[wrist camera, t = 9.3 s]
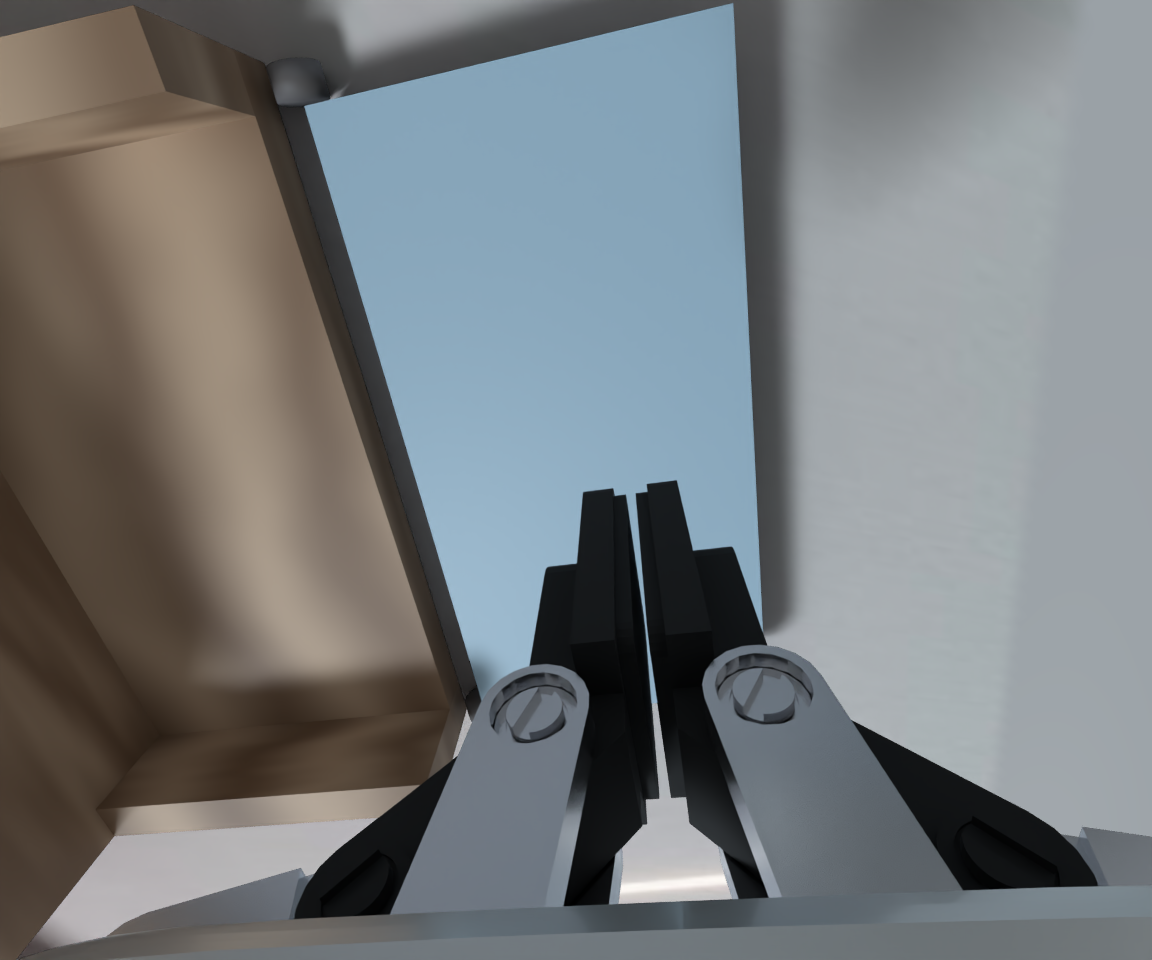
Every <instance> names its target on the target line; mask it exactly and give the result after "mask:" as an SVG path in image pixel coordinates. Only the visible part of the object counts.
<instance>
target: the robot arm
mask: <svg viewBox="0 0 1152 960" xmlns="http://www.w3.org/2000/svg"><path fill="white" fill-rule="evenodd" d="M635 494H636V506H637V517H638V529H639V541H640V552H641V564H642V575H643V587H644V598H645V610H646V622H647V631H648V640H649V648H650V656H651V663H652V670H653V676H654V683H655V690H656V697H657V704H658V711H659V718H660V725H661V731H662V738H663V745H664V752H665V759H666V766H667V773H668V780H669V786H670V793H671V798H677V797H686V799H687V807H688V814H689V822H690V824H691V825H693V826H694V827H695V828H696V829H698V830H699V831H700V832H701V833H703V834H704V835H705V836H706V837H708V838H709V839H710V840H711V841H713V842H714V843H715V844H716V845H718V849H719V855H720V861H721V865H722V868H723V871H724V874H725V878H726V881H727V884H728V887H729V890H730V893H731V897H732V899H729V900H704V901H680V902H656V903H633V904H618V903H619V895H620V887H621V879H622V871H623V852H622V847H623V846H624V845H625V844H626V843H627V842H628V841H629V840H630V839H631V837H632V836H633V835H634V834H635V833H636V832H637V831H638V830H639V829H640V828H641V827H642V825H644V824H647V814H646V799H659V786H658V774H657V762H656V750H655V738H654V725H653V713H652V701H651V689H650V677H649V665H648V653H647V641H646V630H645V621H644V613H643V606H642V599H641V593H640V586H639V579H638V572H637V565H636V558H635V551H634V545H633V538H632V531H631V524H630V517H629V510H628V504H627V497H626V495H617V496H615V494H614V489H613V488H610V489H602V490H594V491H586V492H583V497H582V509H581V520H580V532H579V544H578V556H577V563H576V564H567V565H558V566H549V567H547V568H546V570H545V574H544V580H543V586H542V592H541V598H540V604H539V610H538V616H537V622H536V628H535V634H534V640H533V646H532V652H531V658H530V664H529V666H528V667H525V668H522V669H519V670H516V671H514V672H512V673H510V674H508V675H507V676H505V677H503V678H502V679H500V680H499V681H498V682H497V683H496V684H495V685H494V686H493V687H491V688H490V689H489V690H488V692H487V693H486V695H485V697H484V698H483V700H482V701H481V703H480V705H479V708H478V710H477V712H476V715H475V717H474V719H473V722H472V724H471V726H470V729H469V731H468V733H467V736H466V738H465V740H464V743H463V745H462V747H461V750H460V752H459V754H458V756H457V757H455V758H454V759H453V760H452V761H450V762H449V763H448V764H447V765H445V766H444V767H443V768H441V769H440V770H439V771H438V772H436V773H435V774H434V775H432V776H431V777H430V778H429V779H427V780H426V781H425V782H424V783H422V784H421V785H420V786H418V787H417V788H416V789H415V790H413V791H412V792H411V793H409V794H408V795H407V796H406V797H404V798H403V799H402V800H401V801H399V802H398V803H397V804H395V805H394V806H393V807H392V808H390V809H389V810H388V811H386V812H385V813H384V814H383V815H381V816H380V817H379V818H378V819H376V820H375V821H374V822H372V823H371V824H370V825H369V826H367V827H366V828H365V829H363V830H362V831H361V832H360V833H358V834H357V835H356V836H355V837H353V838H352V839H351V840H349V841H348V842H347V843H346V844H344V845H343V846H342V847H340V848H339V849H338V850H337V851H336V852H335V853H334V854H333V855H331V856H330V857H329V858H328V859H327V860H326V861H325V862H324V863H323V864H322V865H321V866H320V867H319V868H318V870H317V871H316V873H315V874H313V875H309V876H305V874H304V872H303V871H302V869H301V868H299V869H296V870H292V871H289V872H285V873H282V874H278V875H275V876H272V877H268V878H265V879H261V880H258V881H254V882H251V883H247V884H244V885H241V886H237V887H234V888H230V889H227V890H223V891H220V892H217V893H213V894H210V895H206V896H203V897H199V898H196V899H193V900H189V901H186V902H182V903H179V904H175V905H172V906H169V907H165V908H162V909H158V910H155V911H151V912H148V913H146V914H143V915H141V916H139V917H137V918H135V919H132V920H130V921H128V922H126V923H124V924H123V925H121V926H120V927H119V928H117V929H116V930H114V931H113V932H112V933H110V934H109V935H108V936H106V937H102V938H98V939H93V940H89V941H84V942H79V943H75V944H70V945H66V946H61V947H57V948H53V949H49V950H46V951H43V952H40V953H37V954H34V955H30V956H27V957H24V958H21V959H18V960H1152V837H1150V836H1143V835H1136V834H1129V833H1122V832H1115V831H1108V830H1101V829H1094V828H1087V827H1082V829H1081V832H1080V835H1079V837H1075V836H1068V835H1061V834H1060V833H1059V832H1058V831H1056V830H1055V829H1054V828H1053V827H1051V826H1050V825H1048V824H1047V823H1045V822H1044V821H1042V820H1040V819H1039V818H1037V817H1036V816H1034V815H1033V814H1031V813H1029V812H1028V811H1026V810H1024V809H1022V808H1020V807H1018V806H1016V805H1014V804H1012V803H1011V802H1009V801H1007V800H1005V799H1003V798H1001V797H999V796H997V795H995V794H993V793H991V792H989V791H987V790H985V789H984V788H982V787H980V786H978V785H976V784H974V783H972V782H970V781H968V780H966V779H964V778H962V777H960V776H958V775H956V774H955V773H953V772H951V771H949V770H947V769H945V768H943V767H941V766H939V765H937V764H935V763H933V762H931V761H929V760H927V759H926V758H924V757H922V756H920V755H918V754H916V753H914V752H912V751H910V750H908V749H906V748H904V747H902V746H900V745H899V744H897V743H895V742H893V741H891V740H889V739H887V738H885V737H883V736H881V735H879V734H877V733H875V732H873V731H871V730H870V729H868V728H866V727H864V726H862V725H860V724H858V723H856V722H854V721H852V720H851V719H850V718H849V716H848V715H847V713H846V712H845V710H844V709H843V707H842V706H841V704H840V703H839V701H838V699H837V698H836V696H835V695H834V693H833V692H832V690H831V689H830V687H829V686H828V684H827V683H826V681H825V680H824V678H823V677H822V675H821V674H820V673H819V672H818V671H817V670H816V668H815V667H814V666H813V665H812V664H811V663H810V662H809V661H807V660H805V659H804V658H802V657H801V656H799V655H797V654H796V653H794V652H791V651H788V650H785V649H782V648H779V647H774V646H767V643H766V640H765V637H764V635H763V632H762V629H761V626H760V623H759V620H758V617H757V614H756V611H755V608H754V606H753V603H752V600H751V597H750V594H749V591H748V588H747V585H746V582H745V579H744V577H743V574H742V571H741V568H740V565H739V562H738V559H737V556H736V553H735V551H734V549H733V547H732V546H730V547H721V548H712V549H703V550H694V551H693V548H692V543H691V539H690V535H689V530H688V526H687V522H686V517H685V513H684V509H683V504H682V500H681V496H680V491H679V487H678V483H677V480H674V481H666V482H658V483H650V484H647V492H642V493H635Z"/></svg>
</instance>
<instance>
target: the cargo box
mask: <svg viewBox="0 0 1152 960" xmlns="http://www.w3.org/2000/svg"><path fill="white" fill-rule="evenodd" d="M266 69H267V70H266ZM267 73H268V74H267ZM268 76H269V77H268ZM269 79H270V80H269ZM270 82H271V83H270ZM271 85H272V86H271ZM272 88H273V90H272ZM273 92H274V93H273ZM274 95H275V96H274ZM275 98H276V99H275ZM329 99H330V94H329V91H328V87H327V84H326V80H325V77H324V73H323V69H322V66H321V63H320V62H319V61H318V60H315V59H310V58H289V59H283V60H278V61H275V62H272V63H270V64H269V65H267V67H265V64H264V63H263V62H261V61H258V60H256V59H254V58H252V57H249V56H247V55H245V54H243V53H240V52H238V51H236V50H234V49H231V48H229V47H227V46H225V45H222V44H220V43H218V42H216V41H213V40H211V39H209V38H207V37H204V36H202V35H200V34H198V33H195V32H193V31H191V30H189V29H186V28H184V27H182V26H179V25H177V24H175V23H173V22H170V21H168V20H166V19H164V18H161V17H159V16H157V15H155V14H152V13H150V12H148V11H146V10H143V9H141V8H139V7H137V6H134V5H132V6H128V7H124V8H119V9H115V10H111V11H107V12H103V13H99V14H94V15H90V16H86V17H82V18H78V19H74V20H70V21H65V22H61V23H57V24H53V25H49V26H45V27H40V28H36V29H32V30H28V31H24V32H20V33H16V34H11V35H7V36H3V37H0V960H16V959H17V958H18V957H19V955H20V954H21V953H22V952H23V950H24V949H25V948H26V947H27V945H28V944H29V943H30V942H31V940H32V939H33V938H34V936H35V935H36V934H37V933H38V931H39V930H40V929H41V928H42V926H43V925H44V924H45V923H46V921H47V920H48V919H49V918H50V916H51V915H52V914H53V913H54V911H55V910H56V909H57V908H58V906H59V905H60V904H61V903H62V901H63V900H64V899H65V897H66V896H67V895H68V894H69V892H70V891H71V890H72V889H73V887H74V886H75V885H76V884H77V882H78V881H79V880H80V879H81V877H82V876H83V875H84V874H85V872H86V871H87V870H88V869H89V867H90V866H91V865H92V864H93V862H94V861H95V860H96V858H97V857H98V856H99V855H100V853H101V852H102V851H103V850H104V848H105V847H106V846H107V845H108V843H109V842H110V841H111V840H112V838H113V837H114V836H124V835H139V834H153V833H167V832H181V831H196V830H210V829H224V828H239V827H253V826H267V825H281V824H296V823H310V822H324V821H339V820H353V819H367V818H379V817H380V816H381V815H383V814H384V813H385V812H386V811H388V810H389V809H390V808H392V807H393V806H394V805H395V804H397V803H398V802H399V801H401V800H402V799H403V798H404V797H406V796H407V795H408V794H409V793H411V792H412V791H413V790H415V789H416V788H417V787H418V786H420V785H421V784H422V783H424V782H425V781H426V780H427V779H429V778H430V777H431V776H432V775H434V774H435V773H436V772H438V771H439V770H440V769H441V768H443V767H444V766H445V765H447V764H448V763H449V762H450V761H452V759H453V755H454V752H455V748H456V745H457V741H458V738H459V734H460V731H461V727H462V724H463V720H464V717H465V713H466V710H467V711H468V714H469V717H470V720H471V721H472V722H473V719H474V717H475V715H476V712H477V710H478V708H479V705H480V703H481V701H482V700H481V697H480V694H479V690H478V688H475V689H474V690H472V691H471V692H470V693H469V694H468V695H467V697H466V700H465V702H464V698H463V695H462V692H461V689H460V686H459V683H458V679H457V676H456V673H455V670H454V667H453V663H452V660H451V657H450V654H449V651H448V647H447V644H446V641H445V638H444V635H443V632H442V628H441V625H440V622H439V619H438V616H437V612H436V609H435V606H434V603H433V600H432V596H431V593H430V590H429V587H428V584H427V581H426V577H425V574H424V571H423V568H422V565H421V561H420V558H419V555H418V552H417V549H416V545H415V542H414V539H413V536H412V533H411V530H410V526H409V523H408V520H407V517H406V514H405V510H404V507H403V504H402V501H401V498H400V494H399V491H398V488H397V485H396V482H395V478H394V475H393V472H392V469H391V466H390V463H389V459H388V456H387V453H386V450H385V447H384V443H383V440H382V437H381V434H380V431H379V427H378V424H377V421H376V418H375V415H374V412H373V408H372V405H371V402H370V399H369V396H368V392H367V389H366V386H365V383H364V380H363V376H362V373H361V370H360V367H359V364H358V361H357V357H356V354H355V351H354V348H353V345H352V341H351V338H350V335H349V332H348V329H347V325H346V322H345V319H344V316H343V313H342V310H341V306H340V303H339V300H338V297H337V294H336V290H335V287H334V284H333V281H332V278H331V274H330V271H329V268H328V265H327V262H326V259H325V255H324V252H323V249H322V246H321V243H320V239H319V236H318V233H317V230H316V227H315V223H314V220H313V217H312V214H311V211H310V208H309V204H308V201H307V198H306V195H305V192H304V188H303V185H302V182H301V179H300V176H299V172H298V169H297V166H296V163H295V160H294V157H293V153H292V150H291V147H290V144H289V141H288V137H287V134H286V131H285V128H284V125H283V121H282V118H281V115H280V112H279V109H278V105H280V106H284V107H304V106H307V105H311V104H315V103H319V102H324V101H328V100H329ZM276 101H277V102H276ZM277 104H278V105H277ZM465 704H466V705H465ZM466 707H467V708H466Z"/></svg>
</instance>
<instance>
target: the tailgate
mask: <svg viewBox="0 0 1152 960" xmlns="http://www.w3.org/2000/svg"><path fill="white" fill-rule="evenodd" d="M304 107H305V111H306V114H307V117H308V121H309V124H310V127H311V131H312V134H313V137H314V141H315V144H316V147H317V151H318V154H319V157H320V161H321V164H322V168H323V171H324V174H325V178H326V181H327V184H328V188H329V191H330V194H331V198H332V201H333V204H334V208H335V211H336V214H337V218H338V221H339V225H340V228H341V231H342V235H343V238H344V241H345V245H346V248H347V251H348V255H349V258H350V261H351V265H352V268H353V271H354V275H355V278H356V281H357V285H358V288H359V292H360V295H361V298H362V302H363V305H364V308H365V312H366V315H367V318H368V322H369V325H370V328H371V332H372V335H373V338H374V342H375V345H376V349H377V352H378V355H379V359H380V362H381V365H382V369H383V372H384V375H385V379H386V382H387V385H388V389H389V392H390V395H391V399H392V402H393V406H394V409H395V412H396V416H397V419H398V422H399V426H400V429H401V432H402V436H403V439H404V442H405V446H406V449H407V452H408V456H409V459H410V462H411V466H412V469H413V473H414V476H415V479H416V483H417V486H418V489H419V493H420V496H421V499H422V503H423V506H424V509H425V513H426V516H427V519H428V523H429V526H430V530H431V533H432V536H433V540H434V543H435V546H436V550H437V553H438V556H439V560H440V563H441V566H442V570H443V573H444V576H445V580H446V583H447V587H448V590H449V593H450V597H451V600H452V603H453V607H454V610H455V613H456V617H457V620H458V623H459V627H460V630H461V633H462V637H463V640H464V643H465V647H466V650H467V654H468V657H469V660H470V664H471V667H472V670H473V674H474V677H475V680H476V684H477V687H478V690H479V694H480V697H481V700H483V698H484V697H485V695H486V693H487V692H488V690H489V689H490V688H491V687H493V686H494V685H495V684H496V683H497V682H498V681H499V680H500V679H502V678H503V677H505V676H507V675H508V674H510V673H512V672H514V671H516V670H519V669H522V668H525V667H528V666H529V664H530V658H531V652H532V646H533V640H534V634H535V628H536V622H537V616H538V610H539V604H540V598H541V592H542V586H543V580H544V574H545V570H546V568H547V567H549V566H558V565H567V564H576V563H577V556H578V544H579V532H580V520H581V509H582V497H583V492H586V491H594V490H602V489H610V488H613V489H614V494H615V496H617V495H626V497H627V504H628V510H629V517H630V524H631V531H632V538H633V545H634V551H635V558H636V565H637V572H638V579H639V586H640V593H641V599H642V606H643V613H644V621H645V630H646V641H647V653H648V665H649V677H650V689H651V701H652V703H657V697H656V690H655V683H654V676H653V670H652V663H651V656H650V648H649V640H648V631H647V622H646V610H645V598H644V587H643V575H642V564H641V552H640V541H639V529H638V517H637V506H636V494H635V493H642V492H647V484H650V483H658V482H666V481H674V480H677V483H678V487H679V491H680V496H681V500H682V504H683V509H684V513H685V517H686V522H687V526H688V530H689V535H690V539H691V543H692V548H693V551H694V550H703V549H712V548H721V547H730V546H732V547H733V549H734V551H735V553H736V556H737V559H738V562H739V565H740V568H741V571H742V574H743V577H744V579H745V582H746V585H747V588H748V591H749V594H750V597H751V600H752V603H753V606H754V608H755V611H756V614H757V617H758V620H759V623H760V626H761V629H762V632H763V622H762V601H761V580H760V559H759V538H758V517H757V495H756V474H755V453H754V432H753V411H752V390H751V368H750V347H749V326H748V305H747V284H746V263H745V241H744V220H743V199H742V178H741V157H740V136H739V114H738V93H737V72H736V51H735V30H734V9H733V3H731V4H727V5H723V6H719V7H714V8H710V9H706V10H702V11H698V12H694V13H690V14H685V15H681V16H677V17H673V18H669V19H665V20H660V21H656V22H652V23H648V24H644V25H640V26H635V27H631V28H627V29H623V30H619V31H615V32H611V33H606V34H602V35H598V36H594V37H590V38H586V39H581V40H577V41H573V42H569V43H565V44H561V45H556V46H552V47H548V48H544V49H540V50H536V51H531V52H527V53H523V54H519V55H515V56H511V57H507V58H502V59H498V60H494V61H490V62H486V63H482V64H477V65H473V66H469V67H465V68H461V69H457V70H452V71H448V72H444V73H440V74H436V75H432V76H428V77H423V78H419V79H415V80H411V81H407V82H403V83H398V84H394V85H390V86H386V87H382V88H378V89H373V90H369V91H365V92H361V93H357V94H353V95H348V96H344V97H340V98H336V99H332V100H328V101H324V102H319V103H315V104H311V105H307V106H304Z"/></svg>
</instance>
